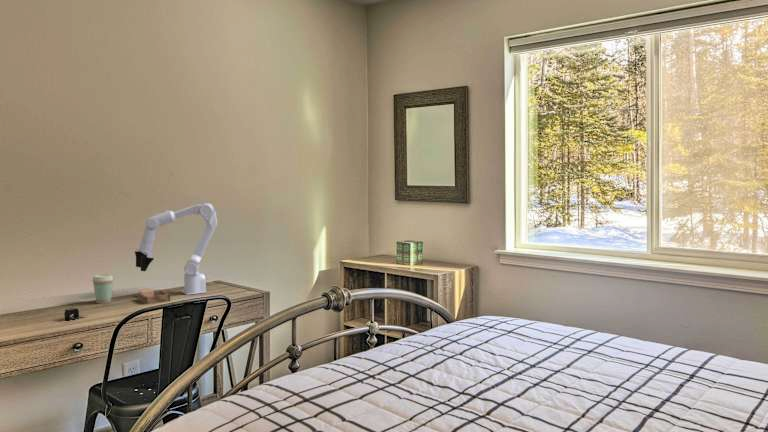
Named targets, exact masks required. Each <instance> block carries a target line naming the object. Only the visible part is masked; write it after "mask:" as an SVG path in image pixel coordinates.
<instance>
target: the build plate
mask: <svg viewBox="0 0 768 432" xmlns="http://www.w3.org/2000/svg"><path fill="white" fill-rule="evenodd" d="M84 317H85V316H84ZM84 317H83V315H80V310H79V308H78V307H70V308H66V309H65V310H64V318H62V319H58V320H56V322H60V321H69V322H71V321H70V320H73V321H76V320H75V319H77V320H80V319H79V318H81V319H84Z"/></svg>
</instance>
